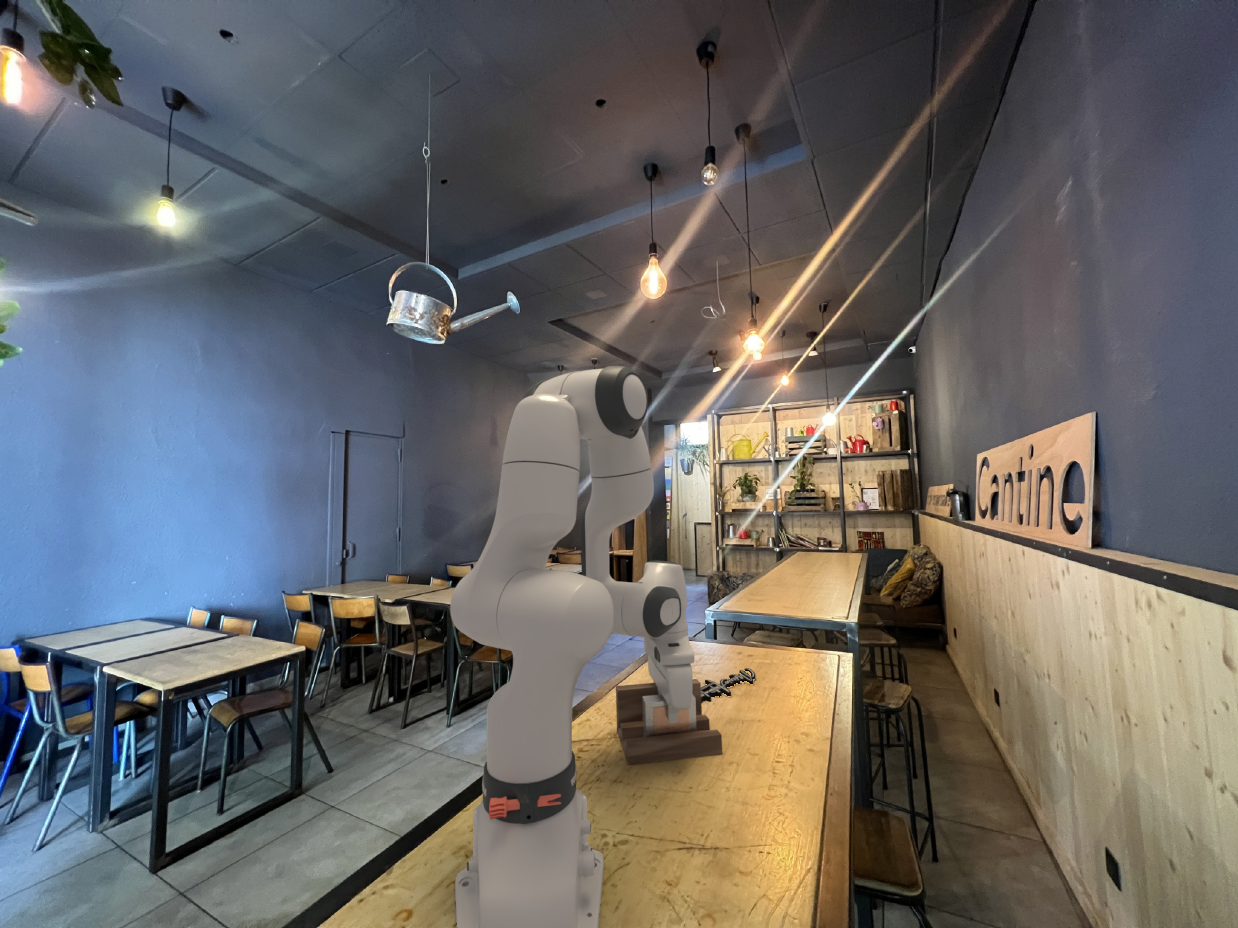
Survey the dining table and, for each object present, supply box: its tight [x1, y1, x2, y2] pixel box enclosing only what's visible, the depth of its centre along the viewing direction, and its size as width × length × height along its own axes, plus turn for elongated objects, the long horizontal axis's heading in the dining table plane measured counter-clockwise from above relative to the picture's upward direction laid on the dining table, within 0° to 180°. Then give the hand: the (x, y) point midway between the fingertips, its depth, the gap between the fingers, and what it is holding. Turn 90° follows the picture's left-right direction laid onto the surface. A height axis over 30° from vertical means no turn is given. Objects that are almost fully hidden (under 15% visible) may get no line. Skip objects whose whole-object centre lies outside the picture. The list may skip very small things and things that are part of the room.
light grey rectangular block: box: [642, 694, 697, 737], centre depth 94 cm, size 3×10×8 cm, turn 99°
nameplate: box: [701, 667, 756, 705], centre depth 123 cm, size 27×2×10 cm
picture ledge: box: [615, 678, 723, 766], centre depth 96 cm, size 14×18×9 cm
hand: (668, 714), depth 94 cm, fingers open, 4 cm apart
